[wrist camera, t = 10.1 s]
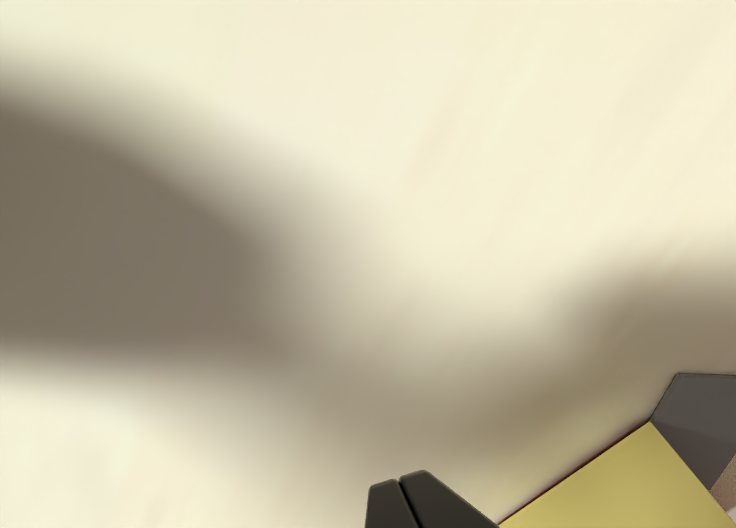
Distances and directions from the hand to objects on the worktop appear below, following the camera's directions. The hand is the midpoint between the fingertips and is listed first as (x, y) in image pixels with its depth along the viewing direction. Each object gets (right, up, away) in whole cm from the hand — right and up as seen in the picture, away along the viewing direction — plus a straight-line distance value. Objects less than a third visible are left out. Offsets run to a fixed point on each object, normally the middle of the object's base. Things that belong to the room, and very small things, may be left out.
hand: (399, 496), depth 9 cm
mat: (+17, -6, +24) cm, 30 cm away
